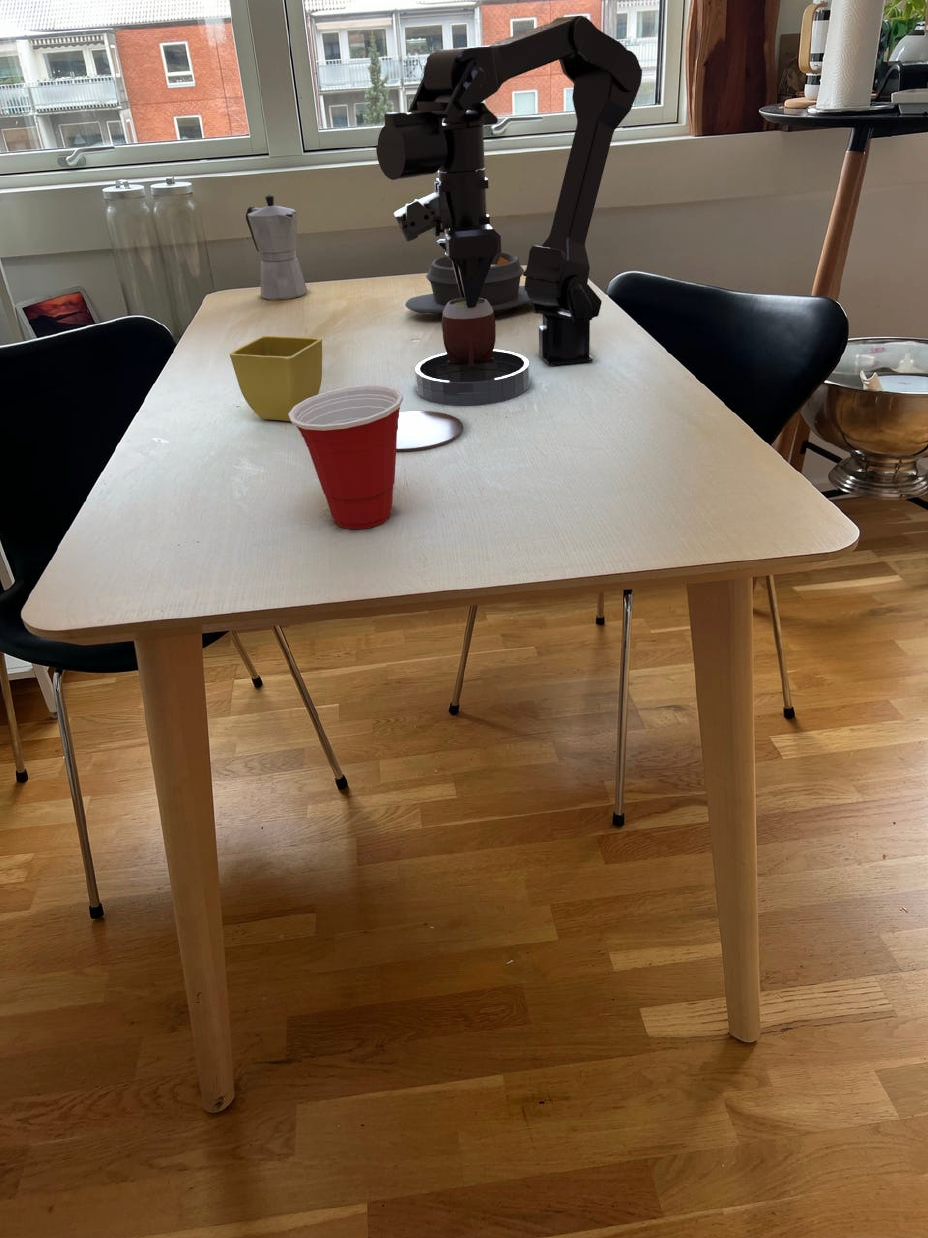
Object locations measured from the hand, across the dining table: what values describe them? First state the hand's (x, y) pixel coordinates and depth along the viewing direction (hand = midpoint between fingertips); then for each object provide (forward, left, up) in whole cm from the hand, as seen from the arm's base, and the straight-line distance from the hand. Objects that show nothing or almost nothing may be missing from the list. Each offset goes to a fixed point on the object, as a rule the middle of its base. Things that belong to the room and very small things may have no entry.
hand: (468, 302), depth 121 cm
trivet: (+10, +15, -11) cm, 21 cm away
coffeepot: (+28, -71, -11) cm, 77 cm away
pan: (0, 0, -11) cm, 11 cm away
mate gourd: (0, +1, -8) cm, 8 cm away
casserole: (-7, -43, -11) cm, 45 cm away
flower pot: (+25, +4, -11) cm, 28 cm away
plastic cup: (+17, +38, -11) cm, 43 cm away
